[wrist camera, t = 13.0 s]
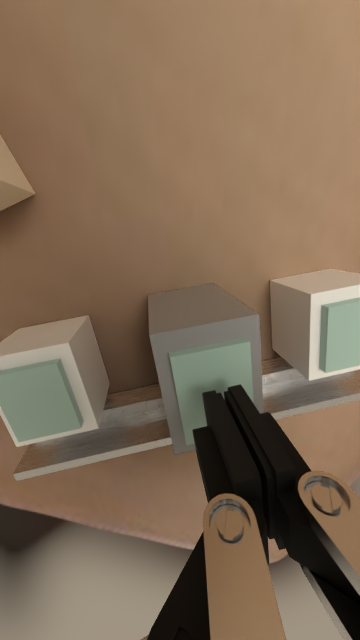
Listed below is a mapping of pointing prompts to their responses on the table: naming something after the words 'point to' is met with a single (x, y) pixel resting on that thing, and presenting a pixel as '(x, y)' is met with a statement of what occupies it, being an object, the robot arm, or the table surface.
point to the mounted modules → (91, 377)
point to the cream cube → (11, 179)
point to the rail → (152, 426)
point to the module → (202, 353)
